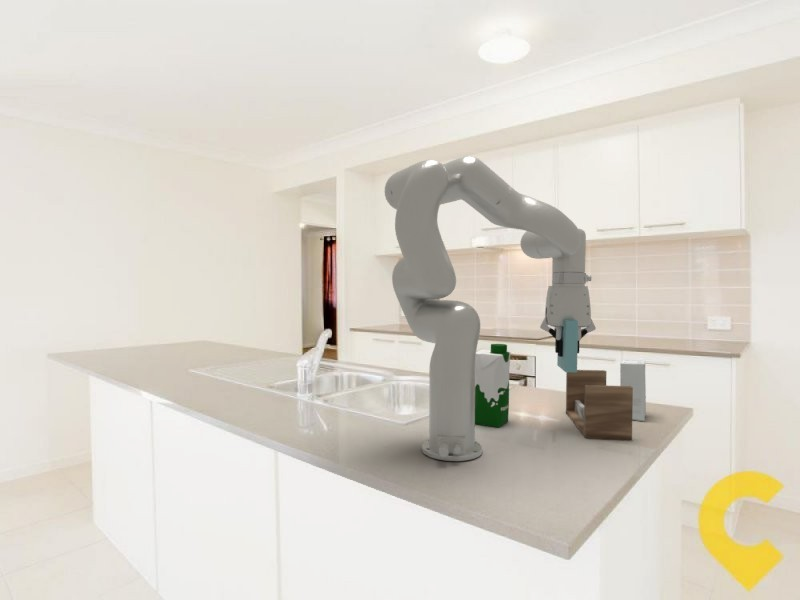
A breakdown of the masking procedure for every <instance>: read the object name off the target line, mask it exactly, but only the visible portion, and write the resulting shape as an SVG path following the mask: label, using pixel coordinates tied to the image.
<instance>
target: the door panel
mask: <svg viewBox="0 0 800 600" xmlns="http://www.w3.org/2000/svg"><path fill="white" fill-rule="evenodd" d="M561 337H562V341H563V356H562V357H559V356H558V355H557V356H556V357H557V363H556V364H557V365H556V366H557V367H559V368H560V369H561V370H562V371H563V372H564V373H566V372H575V373H577V370H578V353H577V349H578V321H577V320H564V326H563V327H562V332H561Z"/></svg>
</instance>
